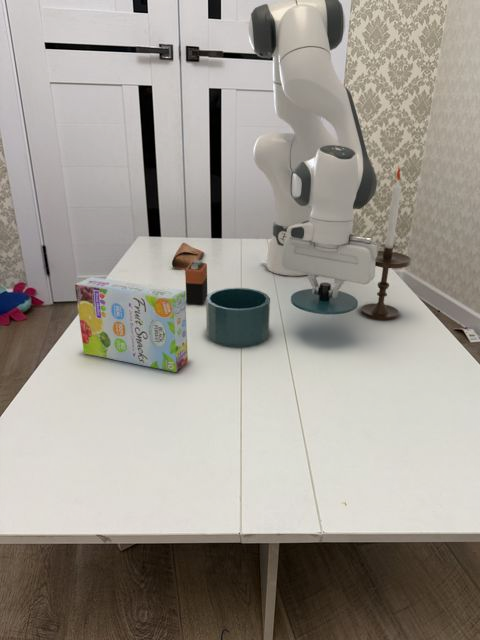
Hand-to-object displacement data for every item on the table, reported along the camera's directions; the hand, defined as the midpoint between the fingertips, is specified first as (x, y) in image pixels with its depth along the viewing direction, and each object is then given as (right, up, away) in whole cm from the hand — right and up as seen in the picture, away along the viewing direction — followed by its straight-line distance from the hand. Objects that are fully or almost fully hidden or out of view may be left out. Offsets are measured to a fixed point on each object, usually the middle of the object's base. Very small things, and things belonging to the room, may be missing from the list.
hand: (324, 295), depth 109 cm
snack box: (-39, -14, -8) cm, 42 cm away
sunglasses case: (-37, +17, +53) cm, 66 cm away
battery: (-30, +1, +21) cm, 37 cm away
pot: (-19, -8, +3) cm, 21 cm away
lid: (0, -1, +1) cm, 2 cm away
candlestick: (+16, -3, +17) cm, 23 cm away
